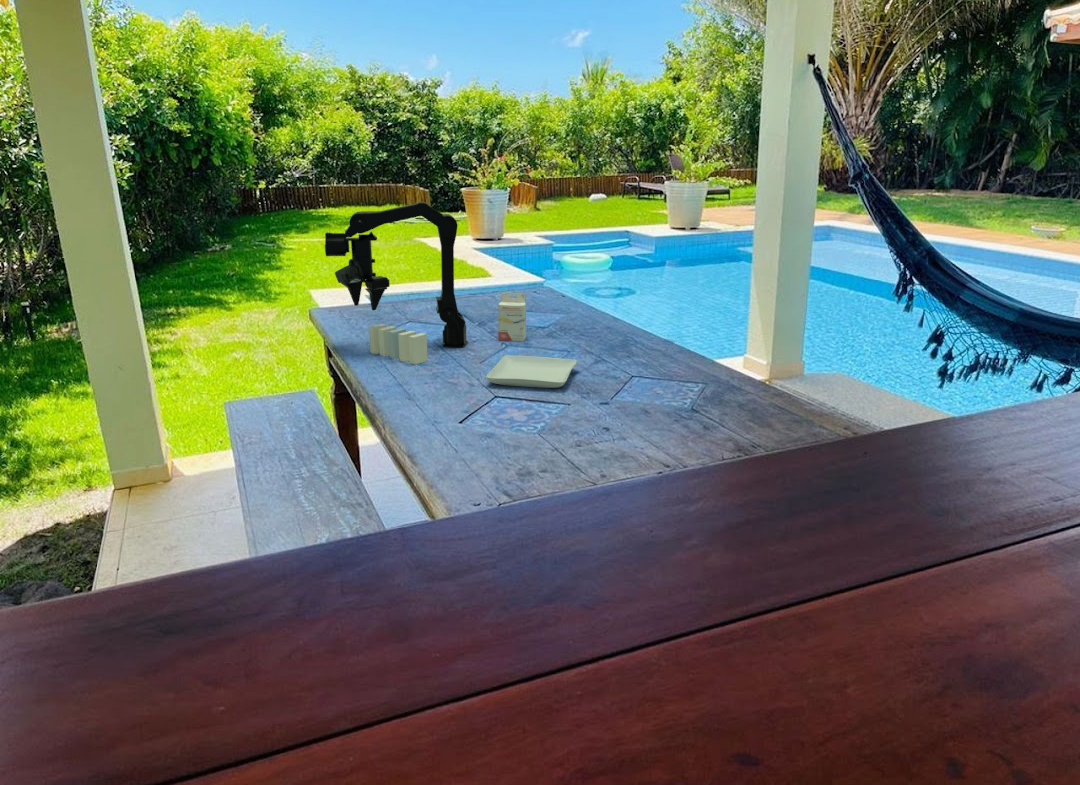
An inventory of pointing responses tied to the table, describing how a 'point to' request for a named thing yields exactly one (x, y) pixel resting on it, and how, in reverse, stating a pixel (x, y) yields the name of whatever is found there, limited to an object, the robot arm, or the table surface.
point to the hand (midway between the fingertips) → (365, 307)
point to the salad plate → (531, 371)
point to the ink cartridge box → (512, 317)
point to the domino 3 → (394, 342)
